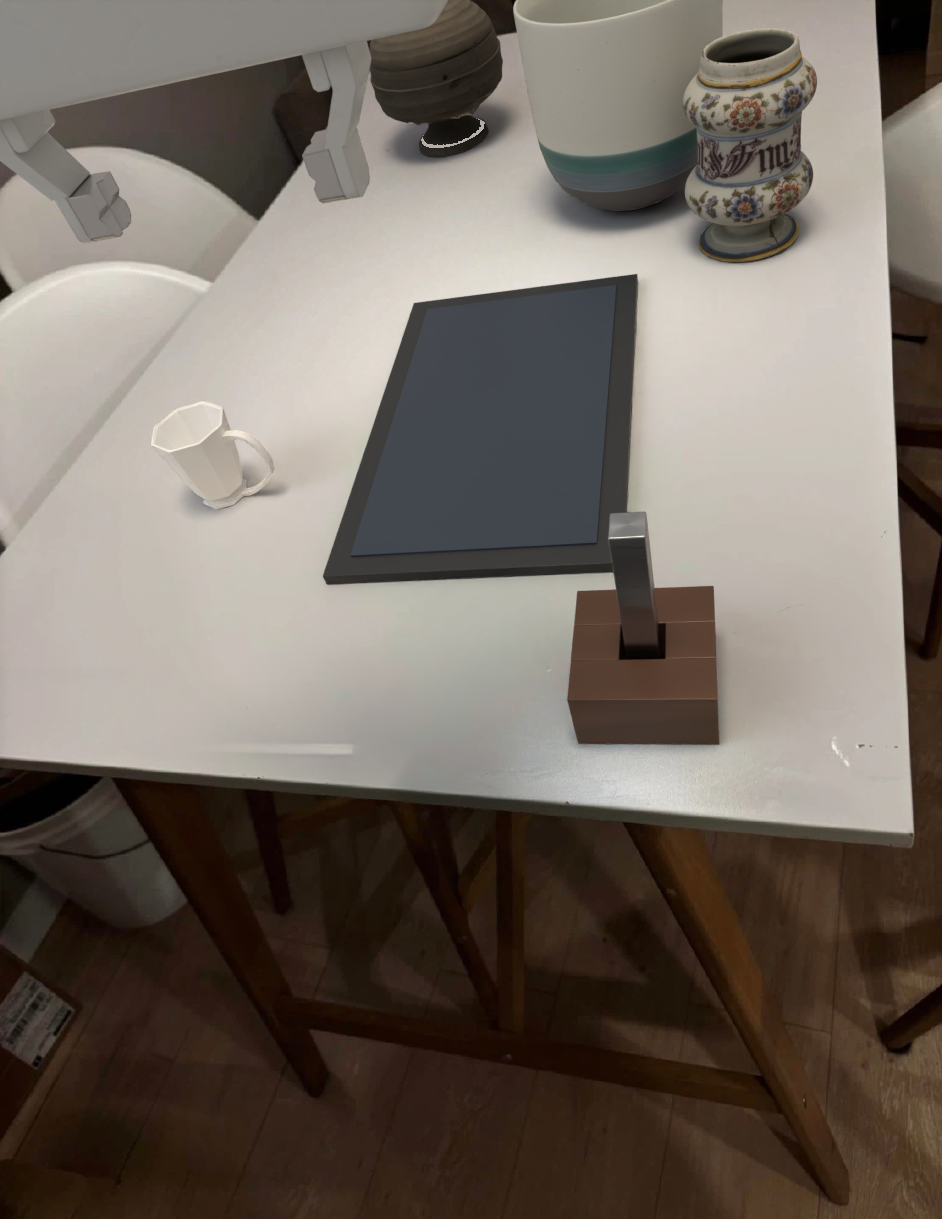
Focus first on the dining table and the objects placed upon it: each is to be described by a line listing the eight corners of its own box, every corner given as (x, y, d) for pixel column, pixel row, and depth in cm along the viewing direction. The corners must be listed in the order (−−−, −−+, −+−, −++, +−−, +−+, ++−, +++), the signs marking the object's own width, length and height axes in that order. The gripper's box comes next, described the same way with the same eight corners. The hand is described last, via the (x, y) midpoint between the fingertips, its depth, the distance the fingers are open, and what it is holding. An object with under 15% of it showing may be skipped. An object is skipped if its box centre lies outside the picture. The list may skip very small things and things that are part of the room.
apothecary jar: (814, 203, 93) (826, 8, 80) (804, 266, 86) (816, 63, 73) (696, 212, 98) (689, 28, 84) (678, 271, 91) (668, 81, 77)
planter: (538, 252, 100) (500, 40, 84) (555, 168, 112) (525, -30, 97) (727, 227, 94) (724, -5, 78) (723, 142, 107) (720, -73, 91)
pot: (402, 117, 134) (372, -41, 118) (519, 109, 130) (504, -55, 114) (371, 176, 123) (334, 12, 108) (498, 170, 119) (478, -2, 104)
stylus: (663, 697, 58) (645, 536, 47) (632, 697, 59) (607, 538, 48) (663, 672, 60) (646, 510, 49) (633, 673, 60) (609, 512, 49)
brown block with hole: (719, 744, 55) (717, 699, 51) (577, 744, 57) (566, 700, 54) (715, 633, 61) (713, 585, 57) (586, 636, 63) (577, 590, 59)
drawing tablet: (623, 571, 66) (622, 560, 65) (326, 584, 72) (321, 574, 72) (638, 282, 91) (637, 271, 90) (416, 310, 97) (413, 300, 97)
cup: (209, 468, 87) (170, 401, 81) (300, 467, 84) (266, 397, 78) (178, 519, 83) (135, 452, 77) (272, 520, 79) (234, 450, 73)
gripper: (-429, -200, 22) (-60, 299, 32) (332, -497, 17) (486, 214, 27) (-262, -243, 26) (20, 214, 36) (397, -495, 21) (510, 125, 31)
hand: (223, 214), depth 31 cm, fingers open, 8 cm apart
